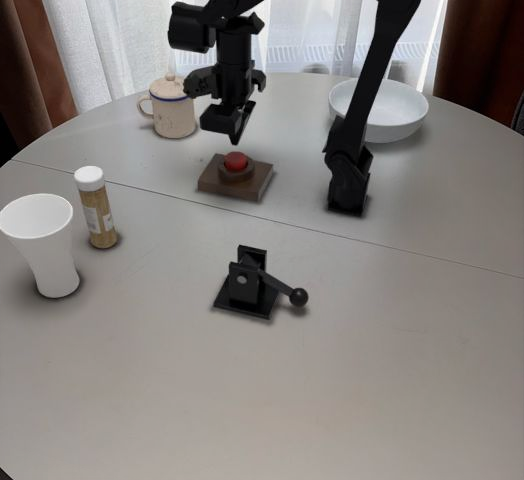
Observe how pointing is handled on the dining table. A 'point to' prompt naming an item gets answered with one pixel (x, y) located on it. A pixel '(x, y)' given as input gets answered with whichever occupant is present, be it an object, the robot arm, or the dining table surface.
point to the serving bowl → (384, 109)
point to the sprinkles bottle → (96, 206)
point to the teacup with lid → (170, 107)
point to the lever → (278, 283)
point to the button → (235, 161)
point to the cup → (43, 240)
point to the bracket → (247, 287)
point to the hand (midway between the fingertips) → (235, 144)
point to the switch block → (236, 179)
